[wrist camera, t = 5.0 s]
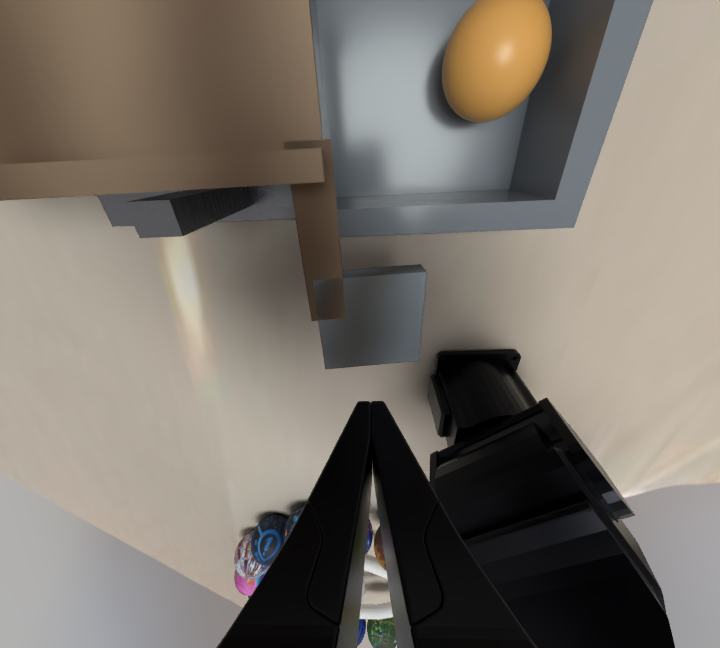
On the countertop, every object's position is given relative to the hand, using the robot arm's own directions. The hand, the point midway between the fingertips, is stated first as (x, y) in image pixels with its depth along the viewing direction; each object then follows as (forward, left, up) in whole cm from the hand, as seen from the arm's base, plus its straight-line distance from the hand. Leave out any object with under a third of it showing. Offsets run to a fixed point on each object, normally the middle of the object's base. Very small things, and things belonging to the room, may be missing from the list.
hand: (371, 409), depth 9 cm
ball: (-5, -10, -9) cm, 15 cm away
